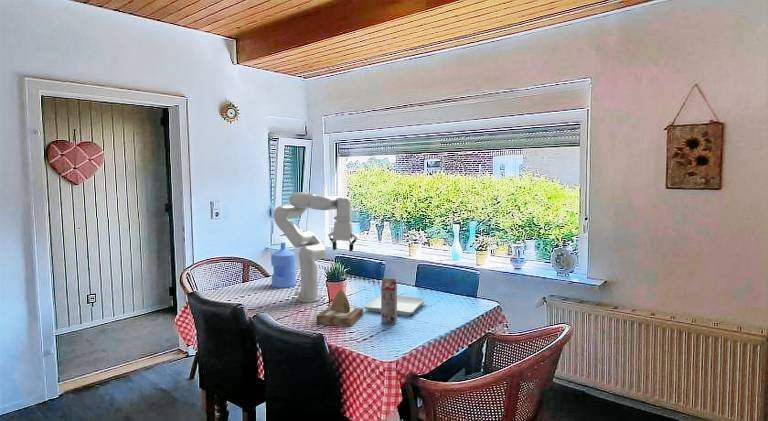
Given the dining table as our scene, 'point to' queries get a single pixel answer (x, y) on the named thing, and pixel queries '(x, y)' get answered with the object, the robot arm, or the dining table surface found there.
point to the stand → (339, 317)
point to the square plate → (403, 305)
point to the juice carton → (388, 301)
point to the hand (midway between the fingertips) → (342, 250)
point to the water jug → (283, 268)
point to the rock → (340, 303)
